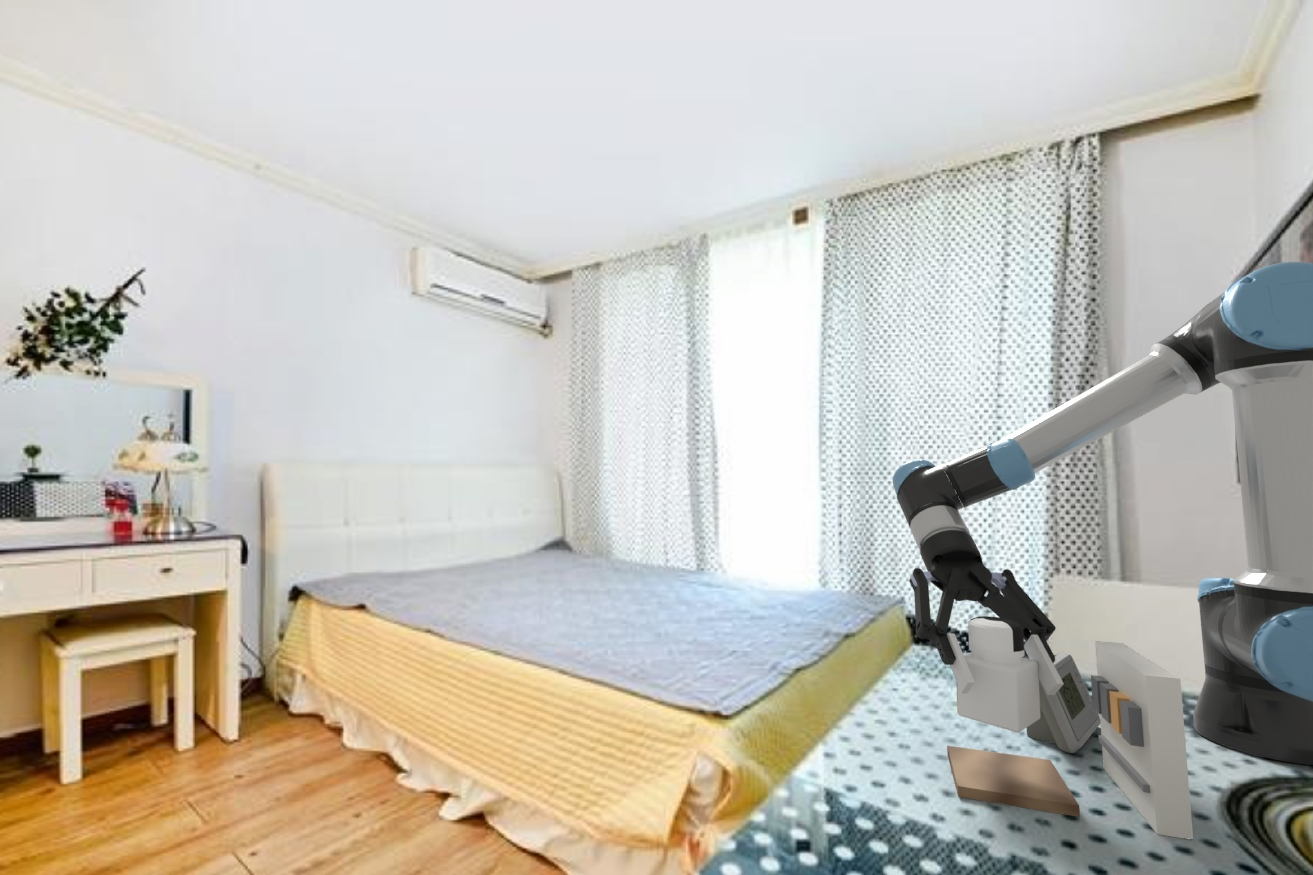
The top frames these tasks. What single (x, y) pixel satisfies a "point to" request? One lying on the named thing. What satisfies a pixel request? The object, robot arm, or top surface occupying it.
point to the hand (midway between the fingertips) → (1011, 688)
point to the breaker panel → (1143, 736)
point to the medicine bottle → (1000, 676)
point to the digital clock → (1065, 709)
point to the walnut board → (1010, 780)
